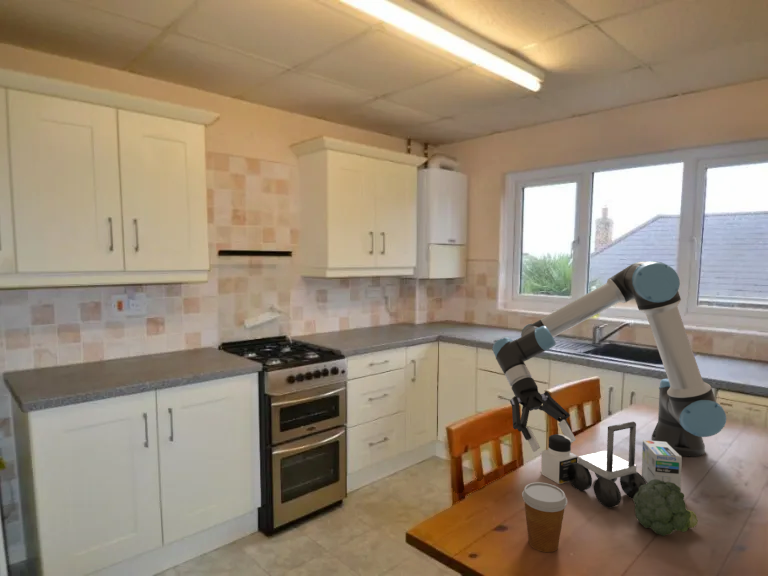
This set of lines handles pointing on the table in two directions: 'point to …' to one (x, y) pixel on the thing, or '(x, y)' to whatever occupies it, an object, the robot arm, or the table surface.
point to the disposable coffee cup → (544, 515)
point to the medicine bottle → (558, 459)
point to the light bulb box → (661, 462)
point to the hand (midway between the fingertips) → (555, 445)
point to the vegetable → (663, 508)
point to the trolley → (608, 470)
